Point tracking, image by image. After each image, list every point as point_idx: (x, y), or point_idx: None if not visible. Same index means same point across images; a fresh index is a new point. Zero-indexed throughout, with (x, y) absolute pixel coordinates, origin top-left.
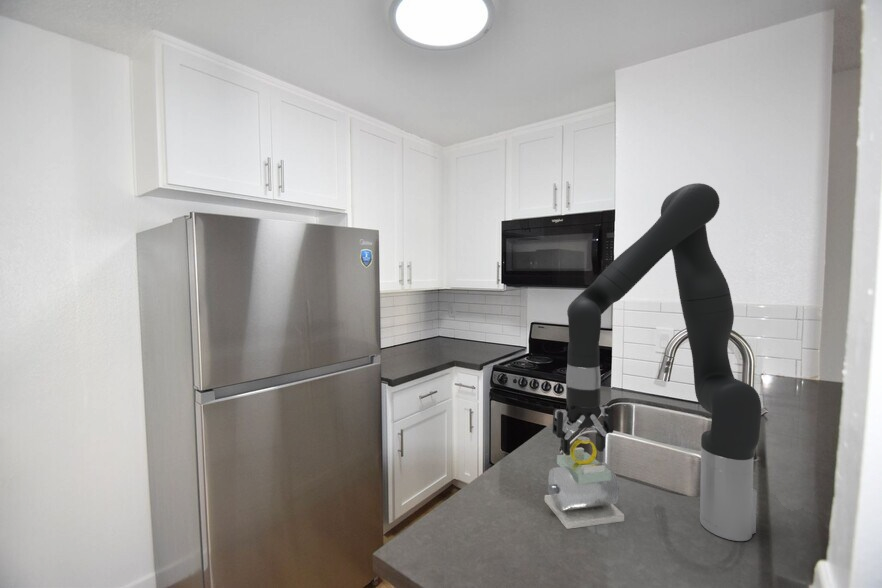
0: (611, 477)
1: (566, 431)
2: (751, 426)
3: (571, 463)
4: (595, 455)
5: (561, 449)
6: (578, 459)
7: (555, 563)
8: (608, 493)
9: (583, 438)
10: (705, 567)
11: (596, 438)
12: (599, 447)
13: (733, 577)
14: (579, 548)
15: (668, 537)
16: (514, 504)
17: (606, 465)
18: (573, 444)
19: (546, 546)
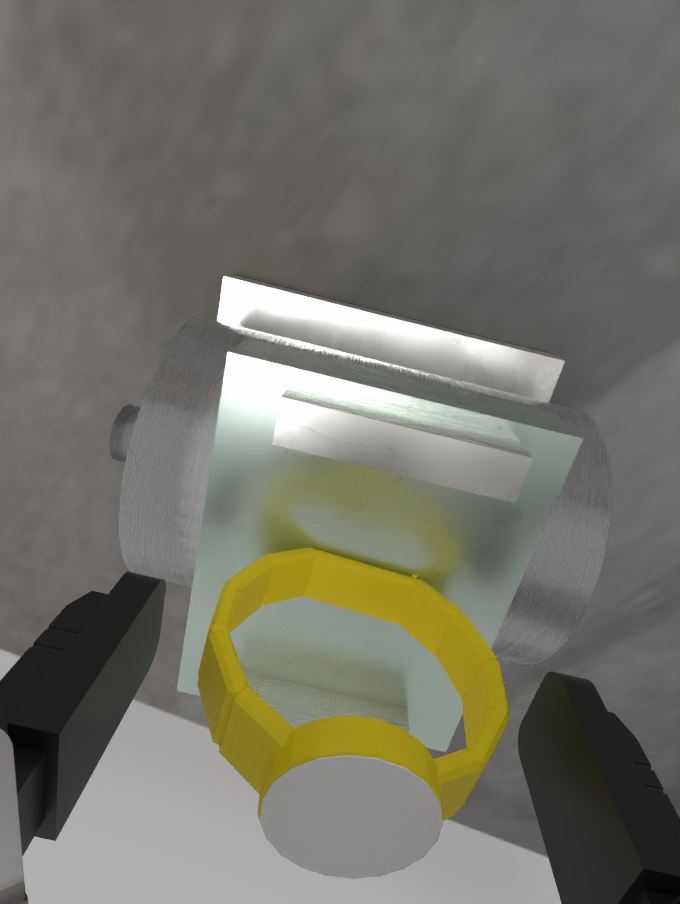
0: None
1: (3, 858)
2: None
3: (248, 547)
4: (457, 690)
5: (77, 609)
6: (367, 519)
7: (53, 610)
8: None
9: (349, 816)
10: (483, 793)
11: (595, 806)
12: (537, 759)
13: (511, 834)
14: (176, 596)
15: (529, 687)
16: (51, 224)
17: (558, 618)
18: (219, 692)
19: (63, 541)
